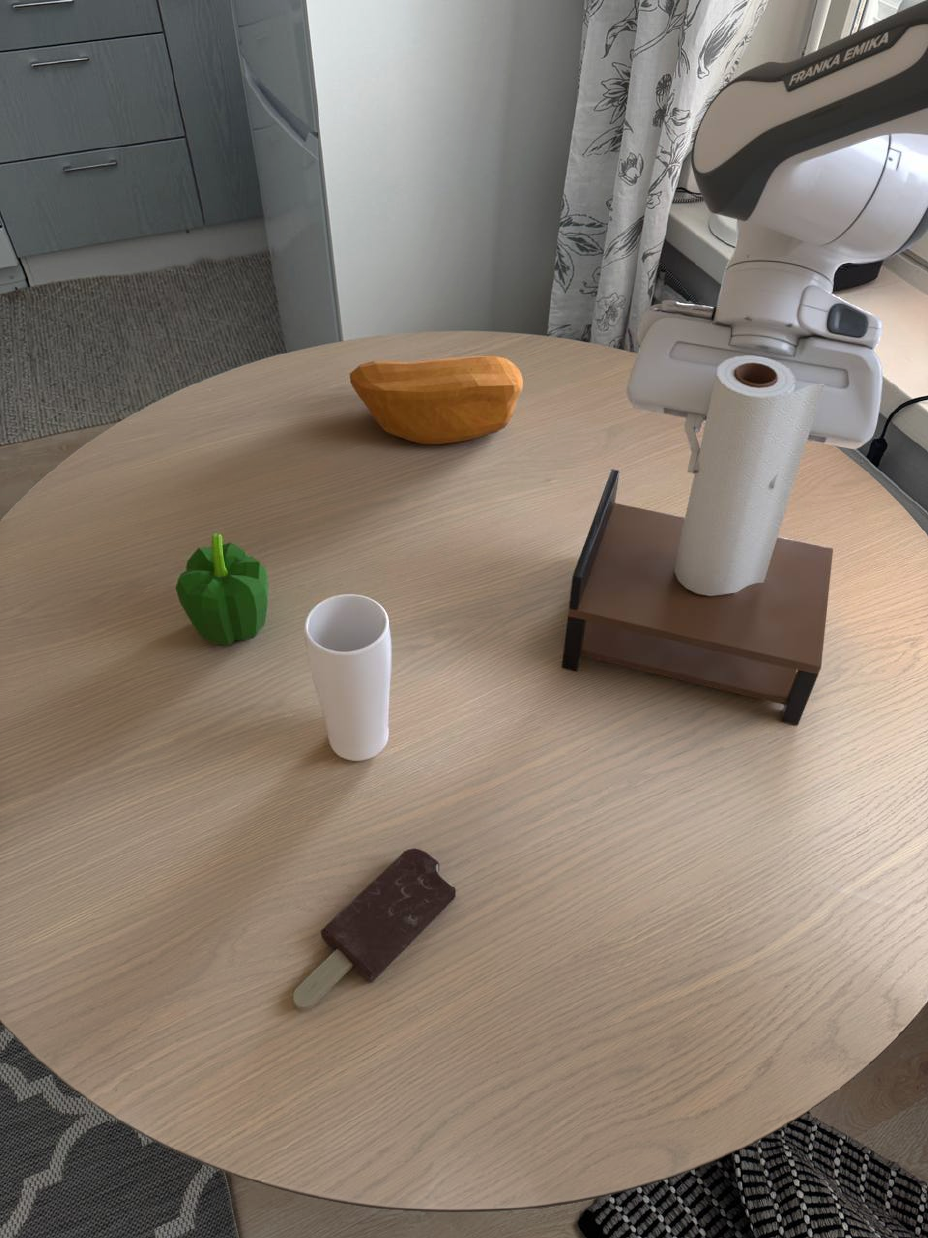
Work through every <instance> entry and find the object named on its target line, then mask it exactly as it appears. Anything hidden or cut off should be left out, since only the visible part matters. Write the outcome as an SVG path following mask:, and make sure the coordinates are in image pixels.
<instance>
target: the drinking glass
mask: <svg viewBox="0 0 928 1238" xmlns="http://www.w3.org/2000/svg"><path fill="white" fill-rule="evenodd" d="M303 631H304V643H305V651H306V658H307V663H308V667H309V671H310V675H311V679H312V682H313V686H314V689H315V693H316V695H317V699H318V703H319V706H320V709H321V713H322V717H323V721H324V724H325V728H326V733H327V738H328V743H329V745H330V748H331V749H332V751H333V752H334V753H335V754H336V755H337V756H339V757H340V758H342V759H344V760H347V761H352V762H362V761H363V762H364V761H367V760H370V759H372V758H374V757H376V756H378V755H379V754H381V752H383V750H384V749H385V747H386V746H387V744H388V741H389V736H390V727H389V713H390V712H389V711H390V695H391V680H392V663H393V662H392V661H393V660H392V657H393V653H392V650H393V648H392V636H391V628H390V621H389V615H388V613H387V611H386V610H385V609H384V607H383V606H382V605H381V604H380V603H379V602H378V601H376V600H375V599H373V598H370V597H368V596H364V595H361V594H353V593H346V594H345V593H344V594H338V595H334V596H331V597H328V598H326V599H323V600H322V601H320V602H319V603H317V604H316V605H314V607H312V608H311V610H309V612H308V614H307V615H306V617H305V620H304V625H303Z"/></svg>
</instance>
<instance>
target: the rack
mask: <svg viewBox="0 0 928 1238" xmlns="http://www.w3.org/2000/svg"><path fill="white" fill-rule="evenodd" d="M619 479H620V470H618V469H613V468H612V469H611V470H610V472H609V475H608V478H607V481H606V484H605V487H604V489H603V492H602V495H601V498H600V499H599V503H598V506H597V509H596V511H595V514H594V516H593V520H592V522H591V525H590V528H589V530H588V533H587V535H586V538H585V541H584V544H583V547H582V550H581V552H580V555H579V557H578V560H577V563H576V566H575V568H574V571H573V574H572V577H571V587H570V595H569V604H568V613H567V620H566V627H565V635H564V636H565V638H564V645H563V654H562V661H561V668H562V669H564V670H570V671H573V672H578V670H579V666H580V664H581V660H582V657H585V658H589V659H593V660H598V661H601V662H606V663H610V664H614V665H619V666H621V667H627V668H631V669H635V670H639V671H643V672H647V673H651V674H656V675H659V676H664V677H667V678H672V679H677V680H681V681H684V682H689V683H693V684H695V685H696V684H697V685H699V686H704V687H705V686H706V687H710V688H714V689H717V690H722V691H725V692H730V693H733V694H738V695H743V696H746V697H750V698H754V699H759V700H762V701H768V702H771V703H775V704H780V705H783V708H782V712H781V718H780V719H781V722H782V723H786V724H789V725H794V726H799V725H800V724H799V723H800V722H801V719H802V717H803V715H804V711H805V709H806V706H807V705H808V701H809V699H810V696H811V694H812V691H813V689H814V686H815V684H816V681H817V679H818V677H819V674H820V672H821V668H822V663H823V652H824V644H825V643H824V642H825V633H826V623H827V612H828V605H829V604H828V603H829V595H830V594H829V593H830V585H831V584H830V583H831V575H832V574H831V573H832V566H833V564H832V563H833V555H834V548H833V547H829V546H824V545H820V544H814V543H810V542H806V541H801V540H796V539H791V538H786V537H781V536H778V537H777V540H776V543H775V547H774V550H773V553H772V556H771V560H770V563H769V566H768V569H767V573H766V576H765V579H764V582H763V583H755V584H752V585H749V586H746V587H745V588H743V589H741V590H740V591H738V592H736V593H729V594H723V595H715V596H707V595H702V594H697V593H695V592H693V591H691V590H689V589H687V588H685V587H684V586H683V585H682V584H681V583H680V582H679V581H678V579H677V577H676V574H675V572H674V569H675V562H676V558H677V553H678V548H679V544H680V539H681V535H682V530H683V525H684V521H685V516H680V515H675V514H670V513H666V512H660V511H655V510H651V509H647V508H641V507H636V506H631V505H626V504H622V503H616V498H617V492H618V485H619Z"/></svg>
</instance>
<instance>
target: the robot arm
mask: <svg viewBox="0 0 928 1238" xmlns="http://www.w3.org/2000/svg"><path fill="white" fill-rule="evenodd" d="M690 162H691V168H692V174H693V176H694V179H695V182H696V186H697V188H698V191H699V193H700V195H701V197H702V199H703V202H704V203H705V205H706V207H707V209H708V211H709V212H710V213H712V214H715V215H719V216H723V217H726V218H730V219H734V220H736V244H735V247H734V250H733V253H732V255H731V257H730V258H729V260H728V262H727V264H726V267H725V269H724V273H723V277H722V281H721V286H720V290H719V293H718V298H717V302H716V306H714V307H713V306H709V305H708V306H707V305H700V304H688V303H682V302H681V303H680V302H678V301H676V300H662V301H661V303H657V304H653V305H650V306H649V307H648V308H646V309H645V310H644V311H643V313H642V314H641V316H640V318H639V321H638V325H637V330H636V337H635V338H636V343H637V345H638V347H639V349H638V351H637V354H636V356H635V359H634V361H633V364H632V367H631V370H630V373H629V377H628V380H627V385H626V392H625V393H626V398H627V400H628V401H629V403H630V404H631V406H632V407H633V408H634V409H636V410H640V411H645V412H651V413H657V414H663V415H667V416H672V417H678V418H684V419H685V422H684V428H683V431H684V434H685V438H686V442H687V445H688V447H689V450H690V458H689V461H688V466H687V474H695V473H698V472H699V460H698V458H699V452H700V443H699V439H698V438H697V437H698V436H697V434H701V433H702V430H703V425H704V423H706V418H707V414H708V409H709V405H710V400H711V395H712V391H713V386H714V381H715V377H716V372H717V367H718V366H719V365H720V364H721V363H722V362H723V361H725V360H727V359H730V358H733V357H736V356H747V355H752V356H759V357H766V358H769V359H772V360H774V361H777V362H780V363H781V364H783V365H784V366H786V367H787V368H789V369H790V370H791V372H792V373H793V375H794V376H795V388H794V391H793V393H794V392H796V391H798V390H800V389H802V388H804V387H807V386H811V385H815V384H824V387H823V390H822V394H821V397H820V400H819V403H818V407H817V410H816V413H815V416H814V420H813V423H812V426H811V429H810V433H809V436H808V439H807V442H813V443H819V444H825V445H830V446H835V447H841V448H846V449H851V450H857V449H859V448H861V447H862V446H864V445H866V444H867V443H868V442H869V441H871V440H872V438H873V436H874V435H875V432H876V428H877V424H878V419H879V414H880V409H881V401H882V392H883V378H884V377H883V374H884V373H883V365H882V362H881V359H880V357H879V355H878V354H877V353H876V352H875V351H876V349H877V347H878V345H879V342H880V339H881V336H882V332H883V322H882V320H881V319H880V318H879V317H878V316H877V315H874V314H872V313H870V312H868V311H866V310H864V309H862V308H860V307H859V306H856V305H854V304H852V303H850V302H848V301H846V300H845V299H842V298H840V297H839V296H837V295H835V294H833V291H834V290H833V289H834V278H835V273H836V271H837V270H838V268H839V267H841V266H842V265H843V264H847V263H850V264H853V265H866V264H871V263H877V262H882V261H885V260H888V259H890V258H892V257H894V256H897V255H899V254H900V253H903V252H904V251H906V250H907V249H909V248H910V247H912V246H913V245H914V244H916V243H917V242H918V241H920V240H921V239H922V238H923V237H924V236H925V234H926V233H927V232H928V0H923V1H921V2H918V3H916V4H914V5H911V6H909V7H907V8H905V9H903V10H900V11H898V12H896V13H893V14H892V15H889V16H886V17H885V18H882V19H880V20H878V21H876V22H874V23H873V24H870V25H868V26H866V27H863V28H862V29H860V30H857V31H856V32H853V33H851V34H849V35H846V36H845V37H842V38H841V39H838V40H835V41H834V42H831V43H829V44H827V45H826V46H823V47H821V48H819V49H817V50H815V51H813V52H811V53H808V54H806V55H804V56H801V57H799V58H797V59H794V60H792V61H788V62H778V61H766V62H765V63H762V64H759V65H757V66H754V67H752V68H751V69H748V70H746V71H744V72H743V73H741V74H740V75H738V76H736V77H735V78H733V79H732V80H731V81H729V82H728V83H727V84H725V85H724V86H723V87H722V88H721V89H720V90H719V92H717V94H716V95H715V96H714V97H713V99H712V100H711V102H710V103H709V105H708V106H707V107H706V110H705V111H704V113H703V115H702V117H701V119H700V122H699V123H698V126H697V129H696V132H695V134H694V138H693V142H692V146H691V153H690ZM657 310H659V311H657ZM777 475H778V474H777ZM777 475H776V476H775V477H774V478H773V479H772V481H771V482H770V484H769V487H771V488H773V489H774V486H775V483H776V479H777Z"/></svg>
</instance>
